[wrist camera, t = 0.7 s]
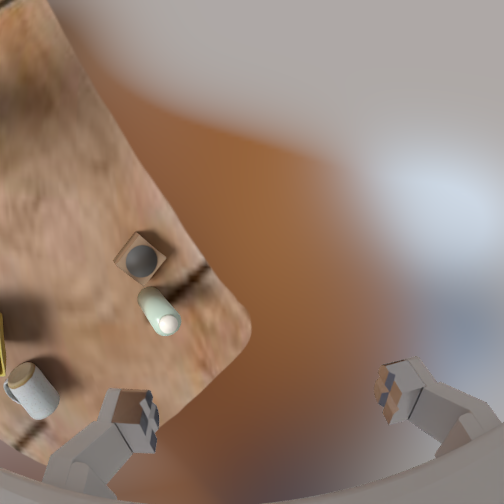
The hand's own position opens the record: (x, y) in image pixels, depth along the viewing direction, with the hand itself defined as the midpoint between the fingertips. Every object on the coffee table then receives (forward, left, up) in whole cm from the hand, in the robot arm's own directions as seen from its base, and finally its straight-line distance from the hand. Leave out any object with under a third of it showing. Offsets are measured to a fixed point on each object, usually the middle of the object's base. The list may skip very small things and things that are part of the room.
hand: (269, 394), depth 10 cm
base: (+8, -1, -43) cm, 44 cm away
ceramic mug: (+4, -33, -44) cm, 55 cm away
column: (+15, -6, -43) cm, 46 cm away
